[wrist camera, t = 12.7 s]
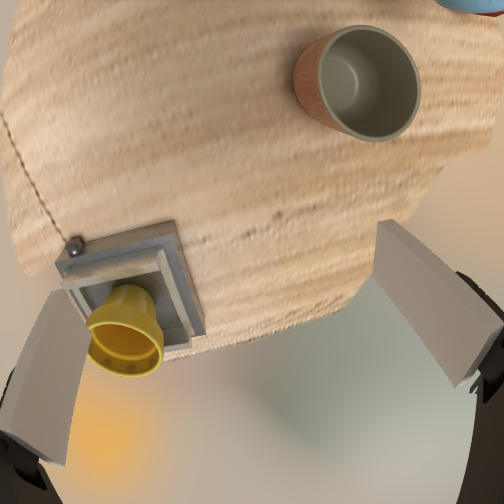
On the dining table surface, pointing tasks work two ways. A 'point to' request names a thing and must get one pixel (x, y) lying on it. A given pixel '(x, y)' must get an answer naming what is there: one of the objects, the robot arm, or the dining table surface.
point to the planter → (359, 83)
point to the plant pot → (126, 333)
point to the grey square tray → (137, 277)
